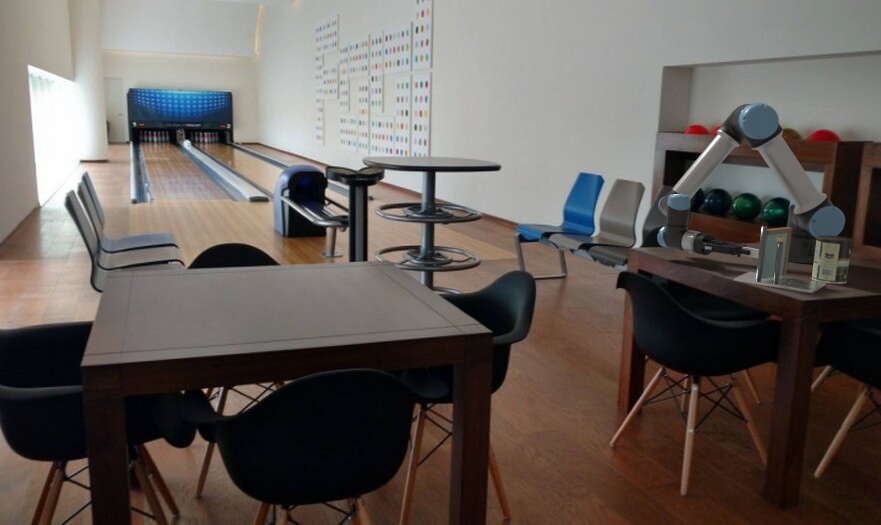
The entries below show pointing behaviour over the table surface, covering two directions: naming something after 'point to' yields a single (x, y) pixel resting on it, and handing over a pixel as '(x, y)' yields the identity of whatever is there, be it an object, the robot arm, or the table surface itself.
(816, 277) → the coffee can
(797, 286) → the gate frame
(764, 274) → the panel
